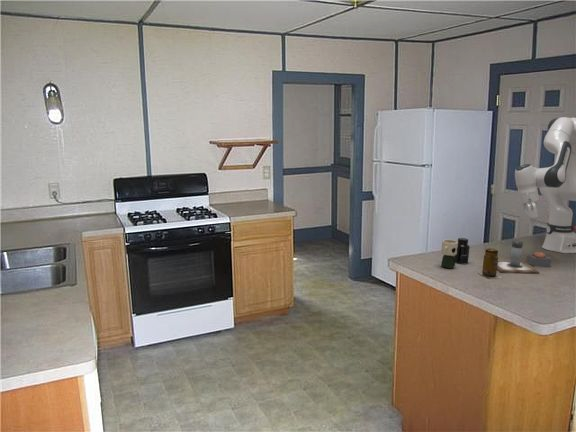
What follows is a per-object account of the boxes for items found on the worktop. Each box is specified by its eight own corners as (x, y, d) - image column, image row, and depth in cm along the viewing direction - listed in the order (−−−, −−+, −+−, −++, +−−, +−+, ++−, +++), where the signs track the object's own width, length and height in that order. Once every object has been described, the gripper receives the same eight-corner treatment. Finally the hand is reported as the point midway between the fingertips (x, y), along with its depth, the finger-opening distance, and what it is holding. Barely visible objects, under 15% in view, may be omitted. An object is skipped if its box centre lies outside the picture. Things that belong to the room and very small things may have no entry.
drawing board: (523, 263, 238) (524, 261, 238) (539, 273, 222) (539, 271, 222) (487, 262, 239) (487, 260, 238) (499, 272, 223) (500, 270, 223)
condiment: (491, 272, 224) (493, 247, 222) (503, 277, 216) (505, 252, 214) (477, 273, 222) (479, 248, 220) (489, 279, 214) (491, 253, 212)
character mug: (450, 271, 224) (452, 244, 222) (436, 268, 229) (438, 241, 226) (459, 266, 232) (461, 240, 230) (445, 263, 237) (447, 237, 234)
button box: (542, 261, 241) (543, 254, 241) (550, 266, 234) (551, 258, 233) (526, 261, 242) (527, 253, 241) (533, 266, 234) (534, 258, 233)
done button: (541, 257, 239) (541, 252, 239) (545, 259, 235) (546, 254, 234) (532, 256, 239) (532, 251, 239) (536, 259, 235) (537, 254, 234)
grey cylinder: (517, 264, 232) (520, 240, 230) (521, 267, 228) (524, 242, 225) (508, 264, 232) (510, 240, 230) (512, 266, 228) (514, 242, 226)
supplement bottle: (463, 265, 234) (465, 241, 232) (450, 261, 239) (452, 238, 237) (470, 262, 239) (473, 239, 236) (458, 259, 244) (460, 236, 241)
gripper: (538, 199, 222) (543, 228, 224) (533, 194, 241) (537, 221, 242) (523, 201, 225) (528, 230, 226) (519, 196, 244) (524, 223, 245)
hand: (533, 225), depth 234 cm, fingers closed
